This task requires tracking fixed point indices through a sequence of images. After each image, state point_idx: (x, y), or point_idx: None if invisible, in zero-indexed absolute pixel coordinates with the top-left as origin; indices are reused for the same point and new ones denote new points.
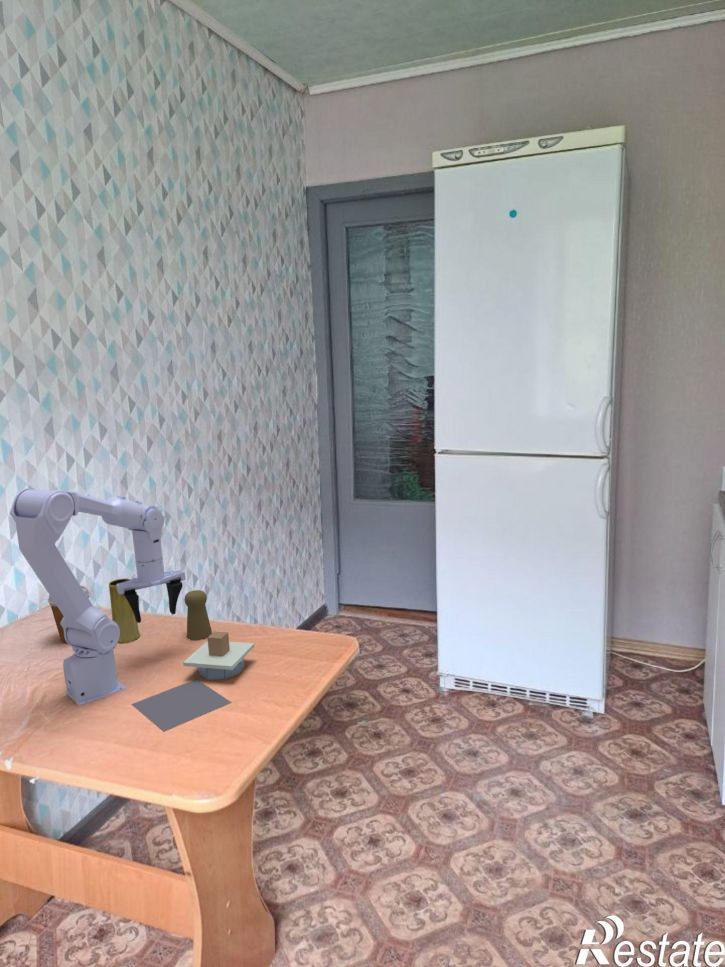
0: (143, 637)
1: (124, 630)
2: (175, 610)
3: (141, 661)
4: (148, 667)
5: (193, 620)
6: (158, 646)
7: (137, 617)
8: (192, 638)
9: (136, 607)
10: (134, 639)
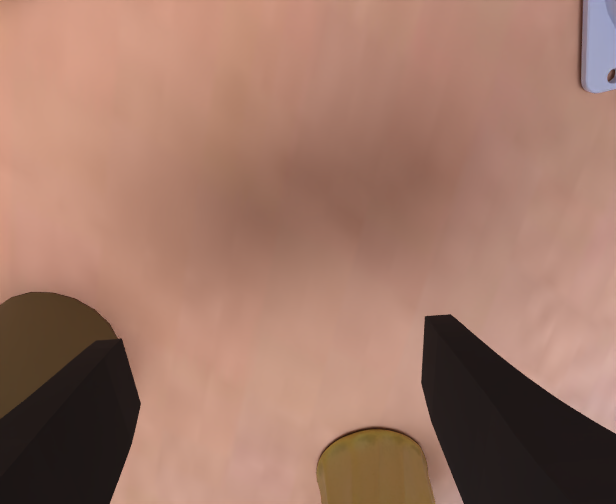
0: (308, 441)
1: (398, 481)
2: (75, 358)
3: (382, 206)
4: (371, 106)
5: (28, 386)
6: (266, 327)
7: (477, 339)
8: (90, 315)
9: (538, 416)
10: (350, 435)
